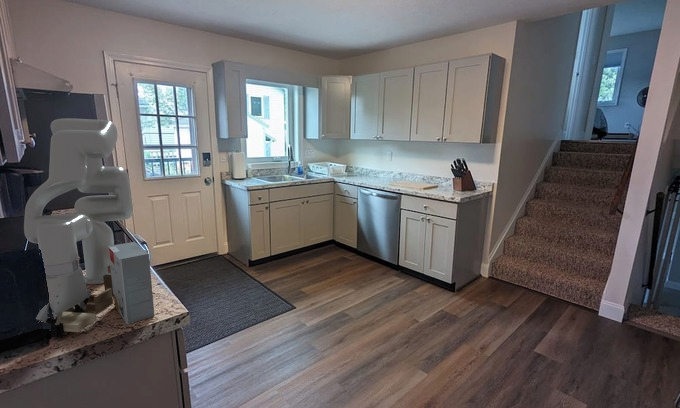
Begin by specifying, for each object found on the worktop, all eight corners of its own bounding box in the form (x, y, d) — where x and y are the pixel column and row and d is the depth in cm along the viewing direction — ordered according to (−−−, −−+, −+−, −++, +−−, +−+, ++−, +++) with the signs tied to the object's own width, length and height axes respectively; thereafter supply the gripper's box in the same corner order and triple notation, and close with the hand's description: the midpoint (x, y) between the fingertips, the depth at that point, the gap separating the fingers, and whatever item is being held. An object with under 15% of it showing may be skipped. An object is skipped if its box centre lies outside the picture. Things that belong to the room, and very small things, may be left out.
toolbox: (99, 293, 114) (96, 273, 113) (125, 295, 113) (123, 275, 112) (51, 319, 97) (48, 296, 96) (82, 321, 96) (79, 298, 95)
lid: (60, 317, 94) (59, 311, 93) (96, 320, 93) (96, 313, 93) (39, 329, 88) (38, 322, 88) (78, 332, 87) (77, 325, 87)
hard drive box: (113, 306, 106) (107, 245, 102) (141, 298, 111) (135, 241, 107) (126, 325, 95) (119, 258, 91) (155, 316, 100) (150, 252, 96)
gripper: (76, 255, 96) (83, 313, 99) (13, 279, 79) (24, 348, 83) (100, 257, 96) (107, 315, 99) (42, 281, 79) (52, 350, 82)
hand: (69, 329), depth 91 cm, fingers closed on lid, 6 cm apart
